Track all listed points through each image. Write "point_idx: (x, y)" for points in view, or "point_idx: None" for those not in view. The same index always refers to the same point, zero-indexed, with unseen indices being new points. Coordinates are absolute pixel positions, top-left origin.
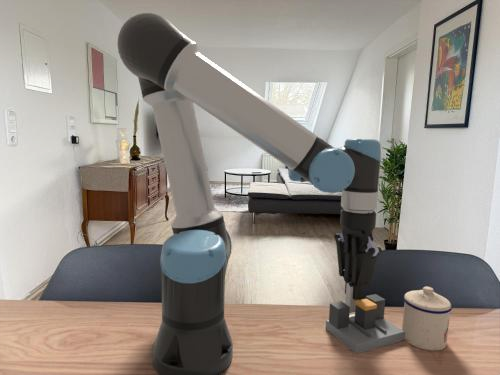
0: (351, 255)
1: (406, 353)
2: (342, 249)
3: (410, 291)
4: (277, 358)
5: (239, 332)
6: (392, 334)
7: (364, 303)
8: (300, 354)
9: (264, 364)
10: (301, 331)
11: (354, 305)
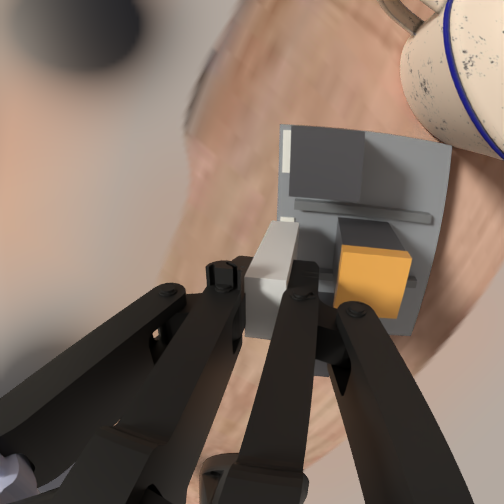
0: (186, 466)
1: (478, 199)
2: (77, 441)
3: (470, 50)
4: (319, 430)
5: (218, 432)
6: (443, 202)
7: (372, 298)
8: (333, 403)
9: (321, 445)
10: (260, 361)
11: (295, 256)
